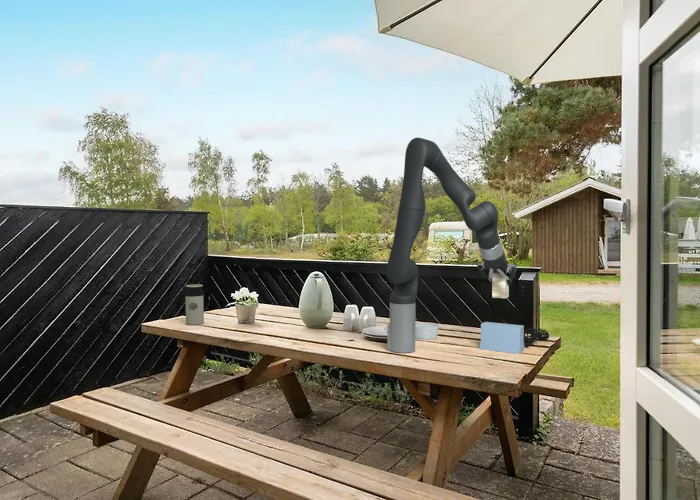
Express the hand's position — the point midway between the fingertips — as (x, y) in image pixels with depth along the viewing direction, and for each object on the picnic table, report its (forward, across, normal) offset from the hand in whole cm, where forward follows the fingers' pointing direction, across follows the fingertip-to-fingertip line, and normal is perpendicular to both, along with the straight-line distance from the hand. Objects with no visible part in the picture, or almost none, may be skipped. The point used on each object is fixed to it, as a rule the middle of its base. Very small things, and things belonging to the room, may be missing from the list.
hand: (502, 283), depth 180 cm
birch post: (+2, 0, +5) cm, 5 cm away
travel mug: (-1, +134, +36) cm, 139 cm away
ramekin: (+20, +32, +14) cm, 41 cm away
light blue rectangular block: (+17, 0, +16) cm, 24 cm away
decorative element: (+30, -7, +5) cm, 31 cm away
